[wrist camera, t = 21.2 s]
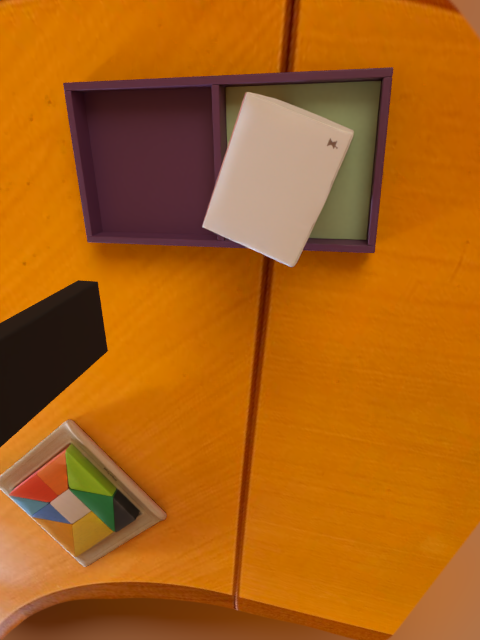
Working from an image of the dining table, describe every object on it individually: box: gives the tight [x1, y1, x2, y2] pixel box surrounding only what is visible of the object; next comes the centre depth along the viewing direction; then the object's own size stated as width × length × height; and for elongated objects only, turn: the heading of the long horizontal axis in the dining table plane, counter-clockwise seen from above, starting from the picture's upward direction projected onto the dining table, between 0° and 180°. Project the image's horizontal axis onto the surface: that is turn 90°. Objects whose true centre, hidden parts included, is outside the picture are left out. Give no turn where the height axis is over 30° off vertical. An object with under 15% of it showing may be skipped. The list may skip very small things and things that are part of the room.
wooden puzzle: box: [0, 420, 167, 567], centre depth 58 cm, size 17×19×4 cm
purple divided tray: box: [63, 68, 393, 253], centre depth 38 cm, size 13×26×3 cm, turn 90°
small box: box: [202, 92, 354, 267], centre depth 31 cm, size 8×6×13 cm
